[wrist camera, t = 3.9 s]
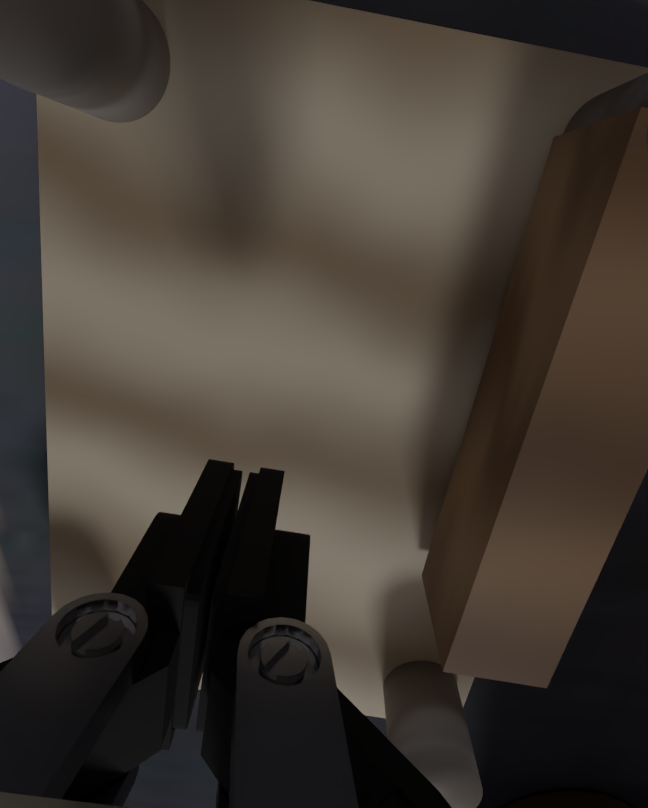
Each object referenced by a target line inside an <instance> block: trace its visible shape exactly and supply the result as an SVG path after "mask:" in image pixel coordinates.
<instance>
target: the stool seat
mask: <svg viewBox="0 0 648 808" xmlns="http://www.w3.org/2000/svg"><path fill="white" fill-rule="evenodd" d="M646 73H648V68H647V67H642V66H637V65H632V64H627V63H622V62H617V61H612V60H607V59H602V58H597V57H592V56H587V55H582V54H577V53H572V52H567V51H562V50H557V49H552V48H547V47H542V46H536V45H531V44H526V43H521V42H516V41H511V40H506V39H501V38H496V37H491V36H486V35H481V34H476V33H471V32H466V31H461V30H456V29H451V28H446V27H441V26H436V25H431V24H426V23H421V22H416V21H411V20H406V19H401V18H396V17H391V16H386V15H381V14H376V13H371V12H366V11H361V10H356V9H350V8H345V7H340V6H335V5H330V4H325V3H320V2H315V1H310V0H0V79H1V80H3V81H5V82H7V83H9V84H12V85H14V86H17V87H20V88H22V89H25V90H27V91H30V92H33V93H35V94H37V127H38V160H39V194H40V227H41V261H42V294H43V328H44V361H45V395H46V428H47V462H48V495H49V529H50V562H51V596H52V616H53V614H55V613H56V612H57V611H58V610H59V609H61V608H62V607H63V606H64V605H66V604H68V603H70V602H72V601H74V600H76V599H78V598H80V597H84V596H87V595H91V594H95V593H108V592H110V593H111V591H112V589H113V588H114V586H115V584H116V583H117V581H118V579H119V577H120V576H121V574H122V572H123V571H124V569H125V567H126V565H127V564H128V562H129V560H130V559H131V557H132V555H133V553H134V552H135V550H136V548H137V546H138V545H139V543H140V541H141V540H142V538H143V536H144V534H145V533H146V531H147V529H148V528H149V526H150V524H151V522H152V521H153V519H154V517H155V516H156V515H157V513H159V512H165V513H171V514H178V515H181V514H182V512H183V510H184V508H185V506H186V504H187V502H188V500H189V498H190V496H191V494H192V492H193V490H194V488H195V486H196V484H197V482H198V480H199V478H200V476H201V474H202V472H203V470H204V468H205V466H206V464H207V461H208V460H209V459H212V460H219V461H225V462H231V463H234V470H240V471H242V482H241V489H240V497H239V505H240V502H241V499H242V496H243V492H244V489H245V486H246V483H247V479H248V476H249V473H250V472H253V473H259V471H260V468H261V467H263V468H269V469H275V470H282V471H285V473H284V479H283V485H282V491H281V497H280V503H279V509H278V516H277V522H276V528H275V529H276V530H283V531H289V532H296V533H302V534H309V535H310V552H309V569H308V586H307V603H306V620H305V623H306V624H308V625H310V626H311V627H312V628H314V629H315V630H317V631H318V632H319V633H320V634H321V636H322V637H323V638H324V639H325V641H326V642H327V645H328V647H329V650H330V653H331V657H332V663H333V668H334V674H335V680H336V685H337V688H338V689H339V690H340V691H341V692H342V693H343V694H344V695H345V696H346V697H347V698H348V699H349V700H350V701H351V702H352V703H353V704H354V705H355V706H356V707H357V708H358V709H359V710H360V711H361V712H362V713H363V714H364V715H367V716H374V717H380V718H386V727H387V739H388V740H389V741H390V742H391V743H392V744H393V745H394V746H395V747H396V748H397V749H398V750H399V751H400V752H401V753H402V754H403V755H404V756H405V757H406V758H407V759H408V760H409V761H410V762H411V763H412V764H413V765H414V766H415V767H416V768H417V769H418V770H419V771H420V772H421V773H422V774H423V775H424V776H425V777H426V778H427V779H428V780H429V781H430V782H431V783H432V784H433V785H434V786H435V787H436V788H437V789H438V791H439V792H440V793H441V794H442V796H443V797H444V798H445V799H446V801H447V802H448V803H449V805H450V806H451V807H452V808H476V807H477V806H478V805H479V803H480V801H481V799H482V796H483V788H482V784H481V780H480V776H479V772H478V768H477V764H476V760H475V756H474V751H473V747H472V743H471V739H470V735H469V731H468V727H467V723H466V719H465V715H464V711H463V707H464V704H465V701H466V699H467V696H468V694H469V691H470V688H471V686H472V683H473V680H474V678H475V677H472V676H466V675H459V674H453V673H447V672H443V671H442V666H441V662H440V657H439V653H438V648H437V644H436V639H435V634H434V630H433V625H432V621H431V616H430V612H429V607H428V603H427V598H426V593H425V589H424V584H423V580H422V572H423V569H424V565H425V562H426V559H427V555H428V552H429V549H430V545H431V542H432V539H433V536H434V532H435V529H436V526H437V522H438V519H439V516H440V512H441V509H442V506H443V502H444V499H445V496H446V492H447V489H448V486H449V483H450V479H451V476H452V473H453V469H454V466H455V463H456V459H457V456H458V453H459V449H460V446H461V443H462V439H463V436H464V433H465V429H466V426H467V423H468V420H469V416H470V413H471V410H472V406H473V403H474V400H475V396H476V393H477V390H478V386H479V383H480V380H481V376H482V373H483V370H484V367H485V363H486V360H487V357H488V353H489V350H490V347H491V343H492V340H493V337H494V333H495V330H496V327H497V323H498V320H499V317H500V313H501V310H502V307H503V304H504V300H505V297H506V294H507V290H508V287H509V284H510V280H511V277H512V274H513V270H514V267H515V264H516V260H517V257H518V254H519V251H520V247H521V244H522V241H523V237H524V234H525V231H526V227H527V224H528V221H529V217H530V214H531V211H532V207H533V204H534V201H535V198H536V194H537V191H538V188H539V184H540V181H541V178H542V174H543V171H544V168H545V164H546V161H547V158H548V154H549V151H550V148H551V144H552V141H553V138H554V137H556V136H559V135H562V134H563V133H564V130H565V128H566V126H567V124H568V123H569V121H570V120H571V118H572V117H573V115H574V114H575V113H576V112H577V111H578V110H579V109H580V108H581V107H582V106H583V105H584V104H585V103H586V102H588V101H589V100H591V99H592V98H594V97H595V96H597V95H600V94H602V93H604V92H606V91H608V90H610V89H613V88H615V87H617V86H619V85H622V84H624V83H626V82H628V81H630V80H633V79H635V78H637V77H639V76H641V75H644V74H646ZM239 505H238V508H239ZM202 674H203V673H202ZM201 683H202V677H201V681H200V684H199V688H198V689H199V690H201Z"/></svg>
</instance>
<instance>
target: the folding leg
mask: <svg viewBox="0 0 648 808" xmlns="http://www.w3.org/2000/svg"><path fill="white" fill-rule="evenodd" d="M647 470H648V73H646V74H644V75H641V76H639V77H637V78H635V79H633V80H630V81H628V82H626V83H624V84H622V85H619V86H617V87H615V88H613V89H610V90H608V91H606V92H604V93H602V94H600V95H597V96H595V97H594V98H592V99H591V100H589V101H588V102H586V103H585V104H584V105H583V106H582V107H581V108H580V109H579V110H578V111H577V112H576V113H575V114H574V115H573V117H572V118H571V120H570V121H569V123H568V124H567V126H566V128H565V130H564V133H563V134H562V135H559V136H556V137H554V138H553V141H552V144H551V148H550V151H549V154H548V158H547V161H546V164H545V168H544V171H543V174H542V178H541V181H540V184H539V188H538V191H537V194H536V198H535V201H534V204H533V207H532V211H531V214H530V217H529V221H528V224H527V227H526V231H525V234H524V237H523V241H522V244H521V247H520V251H519V254H518V257H517V260H516V264H515V267H514V270H513V274H512V277H511V280H510V284H509V287H508V290H507V294H506V297H505V300H504V304H503V307H502V310H501V313H500V317H499V320H498V323H497V327H496V330H495V333H494V337H493V340H492V343H491V347H490V350H489V353H488V357H487V360H486V363H485V367H484V370H483V373H482V376H481V380H480V383H479V386H478V390H477V393H476V396H475V400H474V403H473V406H472V410H471V413H470V416H469V420H468V423H467V426H466V429H465V433H464V436H463V439H462V443H461V446H460V449H459V453H458V456H457V459H456V463H455V466H454V469H453V473H452V476H451V479H450V483H449V486H448V489H447V492H446V496H445V499H444V502H443V506H442V509H441V512H440V516H439V519H438V522H437V526H436V529H435V532H434V536H433V539H432V542H431V545H430V549H429V552H428V555H427V559H426V562H425V565H424V569H423V572H422V580H423V584H424V589H425V593H426V598H427V603H428V607H429V612H430V616H431V621H432V625H433V630H434V634H435V639H436V644H437V648H438V653H439V657H440V662H441V666H442V671H443V672H447V673H453V674H459V675H466V676H472V677H478V678H485V679H491V680H497V681H504V682H510V683H516V684H523V685H529V686H535V687H542V688H547V687H548V685H549V682H550V680H551V678H552V676H553V674H554V672H555V669H556V667H557V665H558V663H559V661H560V659H561V656H562V654H563V652H564V650H565V648H566V646H567V643H568V641H569V639H570V637H571V635H572V633H573V630H574V628H575V626H576V624H577V622H578V619H579V617H580V615H581V613H582V611H583V609H584V606H585V604H586V602H587V600H588V598H589V596H590V593H591V591H592V589H593V587H594V585H595V583H596V580H597V578H598V576H599V574H600V572H601V570H602V567H603V565H604V563H605V561H606V559H607V556H608V554H609V552H610V550H611V548H612V546H613V543H614V541H615V539H616V537H617V535H618V533H619V530H620V528H621V526H622V524H623V522H624V520H625V517H626V515H627V513H628V511H629V509H630V507H631V504H632V502H633V500H634V498H635V496H636V493H637V491H638V489H639V487H640V485H641V483H642V480H643V478H644V476H645V474H646V472H647Z"/></svg>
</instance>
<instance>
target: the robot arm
mask: <svg viewBox="0 0 648 808" xmlns="http://www.w3.org/2000/svg"><path fill="white" fill-rule="evenodd" d="M284 473H285V471H282V470H275V469H269V468H263V467H261V468H260V471H259V473H253V472H250V473H249V476H248V479H247V483H246V486H245V489H244V492H243V496H242V499H241V502H240V505H239V497H240V489H241V482H242V471H240V470H234V463H231V462H225V461H219V460H212V459H209V460H208V461H207V464H206V466H205V468H204V470H203V472H202V474H201V476H200V478H199V480H198V482H197V484H196V486H195V488H194V490H193V492H192V494H191V496H190V498H189V500H188V502H187V504H186V506H185V508H184V510H183V512H182V514H181V515H178V514H171V513H165V512H159V513H157V515H156V516H155V517H154V519H153V521H152V522H151V524H150V526H149V528H148V529H147V531H146V533H145V534H144V536H143V538H142V540H141V541H140V543H139V545H138V546H137V548H136V550H135V552H134V553H133V555H132V557H131V559H130V560H129V562H128V564H127V565H126V567H125V569H124V571H123V572H122V574H121V576H120V577H119V579H118V581H117V583H116V584H115V586H114V588H113V589H112V591H111V593H110V592H108V593H95V594H91V595H87V596H84V597H80V598H78V599H76V600H74V601H72V602H70V603H68V604H66V605H64V606H63V607H62V608H61V609H59V610H58V611H57V612H56V613H55V614H53V616H52V617H51V618H50V619H49V620H48V621H47V622H46V623H45V624H44V625H43V626H42V627H41V628H40V630H39V631H38V632H37V633H36V634H35V635H34V636H33V637H32V638H31V639H30V640H29V641H28V643H27V644H26V645H25V646H24V647H23V648H22V649H21V650H20V651H19V652H18V653H17V654H16V655H15V657H14V658H11V659H9V660H6V661H4V662H2V663H0V808H128V807H123V805H124V803H125V801H126V799H127V797H128V795H129V793H130V791H131V789H132V786H133V784H134V782H135V779H136V776H137V773H138V770H139V764H140V763H142V762H143V761H145V760H146V759H148V758H149V757H151V756H152V755H154V754H155V753H157V752H158V751H160V750H161V749H165V750H169V748H170V745H171V742H172V738H173V735H174V732H175V728H178V729H187V727H188V724H189V720H190V717H191V713H192V709H193V706H194V702H195V699H196V695H197V691H198V688H199V684H200V681H201V677H202V683H201V691H200V700H199V708H198V717H197V725H196V731H201V732H204V734H203V742H202V749H201V756H202V757H203V759H204V760H205V762H206V763H207V765H208V766H209V768H210V769H211V771H212V772H213V774H214V775H215V777H216V778H217V780H218V787H217V793H216V808H452V807H451V806H450V805H449V803H448V802H447V801H446V799H445V798H444V797H443V796H442V794H441V793H440V792H439V791H438V789H437V788H436V787H435V786H434V785H433V784H432V783H431V782H430V781H429V780H428V779H427V778H426V777H425V776H424V775H423V774H422V773H421V772H420V771H419V770H418V769H417V768H416V767H415V766H414V765H413V764H412V763H411V762H410V761H409V760H408V759H407V758H406V757H405V756H404V755H403V754H402V753H401V752H400V751H399V750H398V749H397V748H396V747H395V746H394V745H393V744H392V743H391V742H390V741H389V740H388V739H387V738H386V737H385V736H384V735H383V734H382V733H381V732H380V731H379V730H378V729H377V728H376V727H375V726H374V725H373V724H372V723H371V722H370V721H369V720H368V718H367V717H366V716H365V715H364V714H363V713H362V712H361V711H360V710H359V709H358V708H357V707H356V706H355V705H354V704H353V703H352V702H351V701H350V700H349V699H348V698H347V697H346V696H345V695H344V694H343V693H342V692H341V691H340V690H339V689H338V688H337V685H336V680H335V674H334V668H333V663H332V657H331V653H330V650H329V647H328V645H327V642H326V641H325V639H324V638H323V637H322V636H321V634H320V633H319V632H318V631H317V630H315V629H314V628H312V627H311V626H310V625H308V624H306V623H305V620H306V603H307V586H308V569H309V552H310V535H309V534H302V533H296V532H289V531H283V530H276V529H275V528H276V522H277V516H278V509H279V503H280V497H281V491H282V485H283V479H284ZM238 505H239V508H238ZM202 673H203V674H202Z"/></svg>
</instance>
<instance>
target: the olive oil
mask: <svg viewBox="0 0 648 808" xmlns="http://www.w3.org/2000/svg"><path fill="white" fill-rule="evenodd" d="M504 808H632V807H631V806H629V805H628V804H626V803H624V802H622V801H620V800H618V799H615V798H613V797H610V796H607V795H603V794H599V793H594V792H587V791H555V792H548V793H542V794H538V795H534V796H530V797H527V798H524V799H521V800H519V801H516V802H514V803H512V804H510V805H508V806H506V807H504Z"/></svg>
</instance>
